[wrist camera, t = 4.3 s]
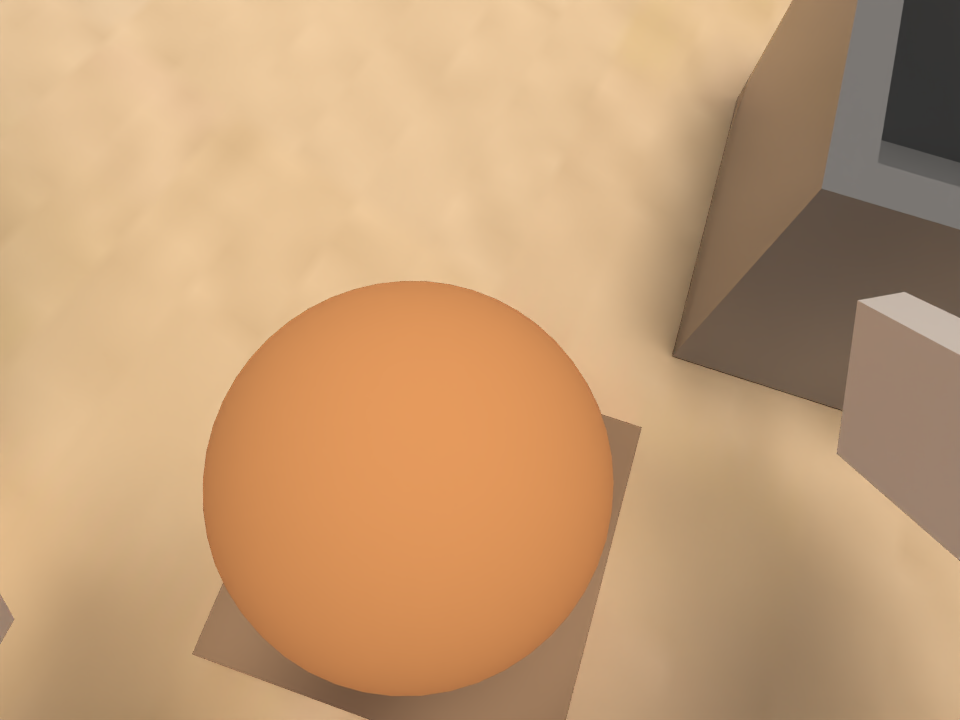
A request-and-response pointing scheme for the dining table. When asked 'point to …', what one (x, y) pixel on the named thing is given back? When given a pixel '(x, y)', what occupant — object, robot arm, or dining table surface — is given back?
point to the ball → (408, 488)
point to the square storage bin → (831, 192)
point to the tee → (455, 714)
